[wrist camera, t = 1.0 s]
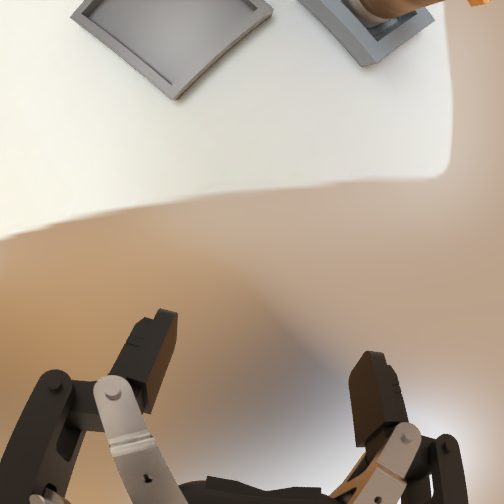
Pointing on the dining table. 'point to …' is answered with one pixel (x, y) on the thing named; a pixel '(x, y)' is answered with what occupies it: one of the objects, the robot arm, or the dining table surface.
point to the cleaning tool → (388, 9)
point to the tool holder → (358, 37)
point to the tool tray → (171, 34)
